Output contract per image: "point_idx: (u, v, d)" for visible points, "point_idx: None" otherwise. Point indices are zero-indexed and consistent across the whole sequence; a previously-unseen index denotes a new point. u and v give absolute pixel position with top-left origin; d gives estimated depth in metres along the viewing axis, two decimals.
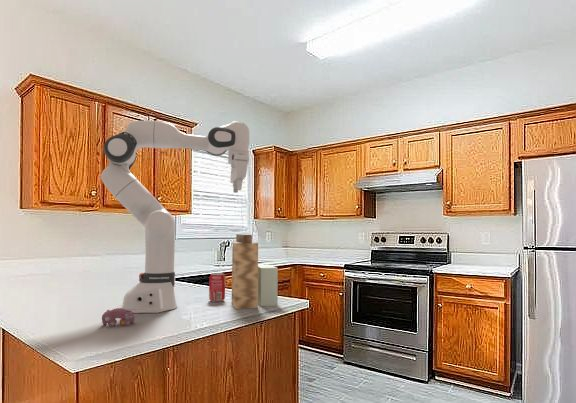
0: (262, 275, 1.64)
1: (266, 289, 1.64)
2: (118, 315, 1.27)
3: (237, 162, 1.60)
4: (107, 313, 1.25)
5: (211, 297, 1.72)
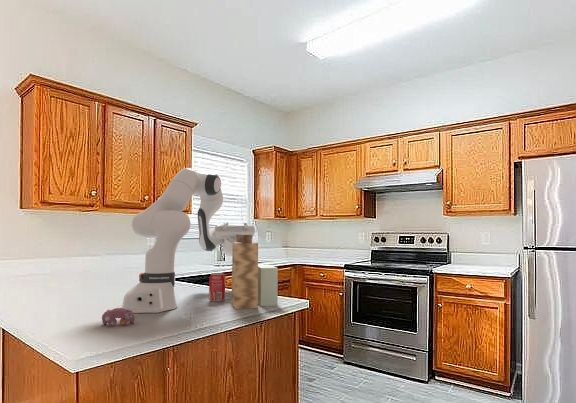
0: (262, 275, 1.64)
1: (266, 289, 1.64)
2: (118, 315, 1.27)
3: None
4: (107, 313, 1.26)
5: (211, 297, 1.72)
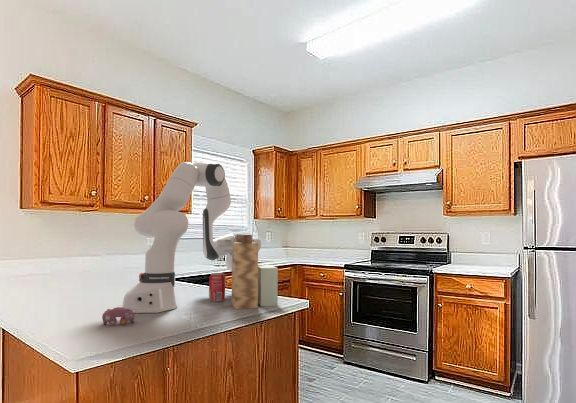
0: (262, 275, 1.64)
1: (266, 289, 1.64)
2: (118, 314, 1.28)
3: None
4: (107, 312, 1.27)
5: (211, 297, 1.72)
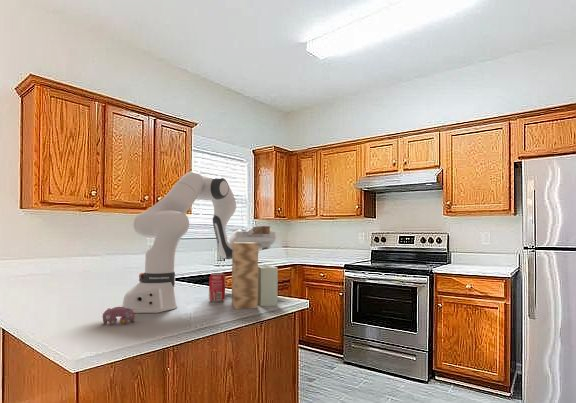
0: (262, 275, 1.64)
1: (266, 289, 1.64)
2: (119, 313, 1.29)
3: None
4: (108, 311, 1.28)
5: (211, 297, 1.72)
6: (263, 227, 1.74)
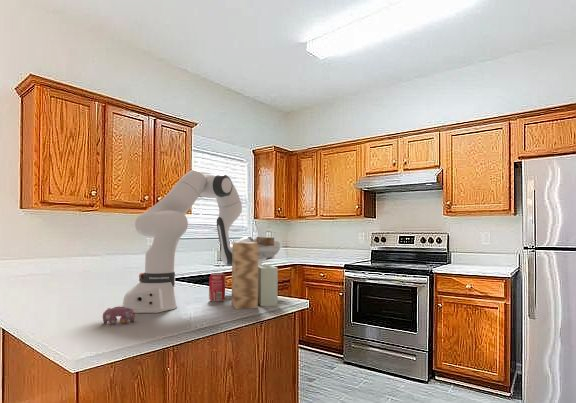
0: (262, 275, 1.64)
1: (266, 289, 1.64)
2: (119, 313, 1.30)
3: None
4: (108, 311, 1.28)
5: (211, 297, 1.72)
6: (267, 238, 1.65)
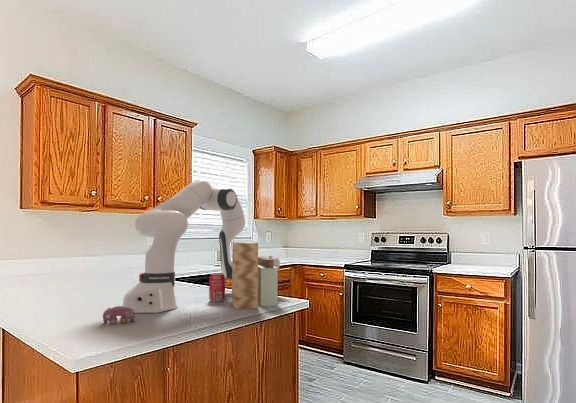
0: (262, 275, 1.64)
1: (266, 289, 1.64)
2: (119, 313, 1.30)
3: None
4: (108, 311, 1.29)
5: (211, 297, 1.72)
6: (267, 261, 1.64)
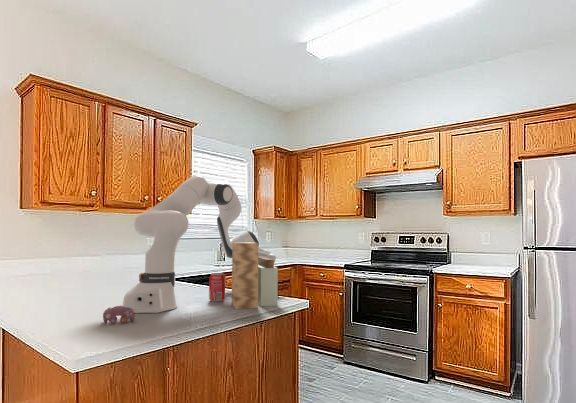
0: (262, 275, 1.64)
1: (266, 289, 1.64)
2: (119, 312, 1.31)
3: None
4: (108, 311, 1.29)
5: (211, 297, 1.72)
6: (267, 261, 1.64)
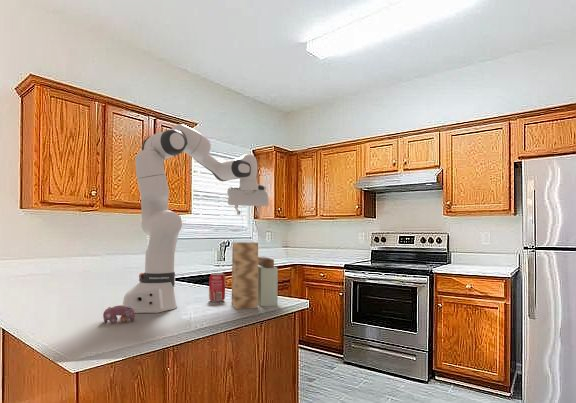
0: (262, 275, 1.64)
1: (266, 289, 1.64)
2: (119, 312, 1.31)
3: None
4: (108, 310, 1.30)
5: (211, 297, 1.72)
6: (267, 261, 1.64)
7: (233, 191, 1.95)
